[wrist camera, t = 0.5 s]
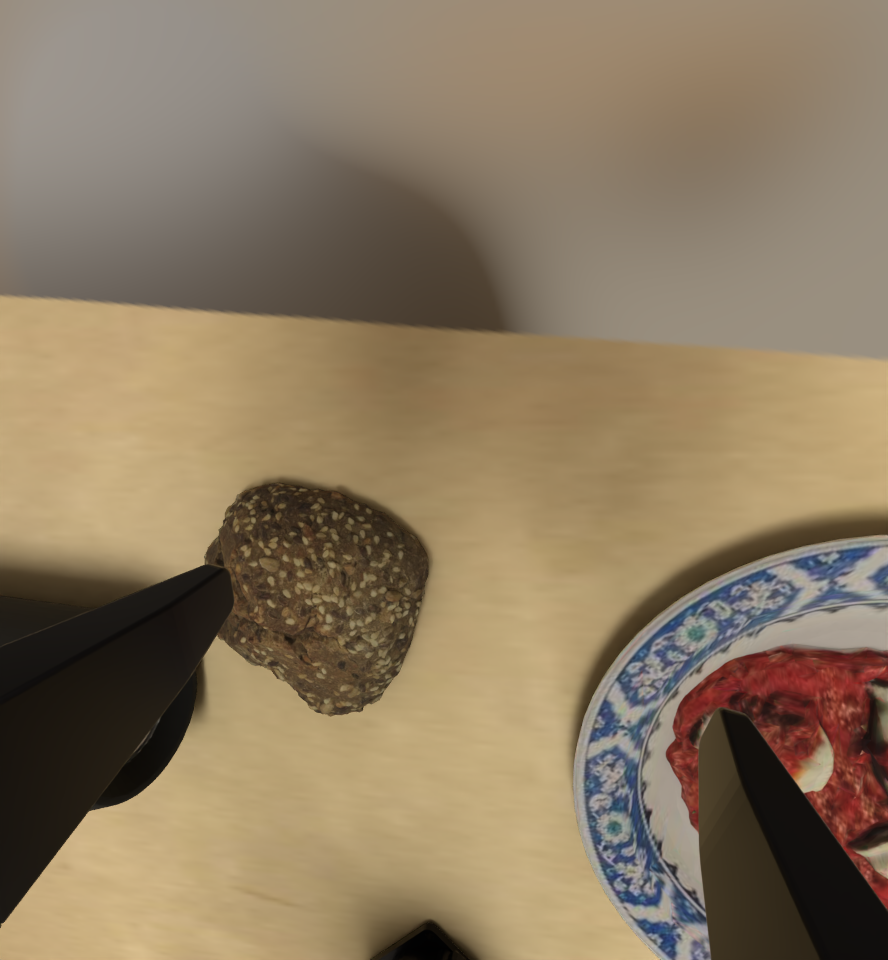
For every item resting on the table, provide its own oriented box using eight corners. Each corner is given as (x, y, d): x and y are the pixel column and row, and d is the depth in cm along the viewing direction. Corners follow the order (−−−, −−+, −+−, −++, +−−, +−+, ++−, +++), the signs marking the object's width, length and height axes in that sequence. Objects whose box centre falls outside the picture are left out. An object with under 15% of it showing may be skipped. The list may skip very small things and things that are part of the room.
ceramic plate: (603, 976, 30) (605, 1040, 27) (543, 545, 26) (538, 567, 23) (1217, 1061, 23) (1307, 1158, 20) (1276, 486, 19) (1401, 508, 16)
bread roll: (463, 550, 27) (438, 590, 22) (371, 726, 30) (332, 792, 26) (255, 435, 28) (190, 448, 24) (190, 614, 32) (123, 657, 27)
